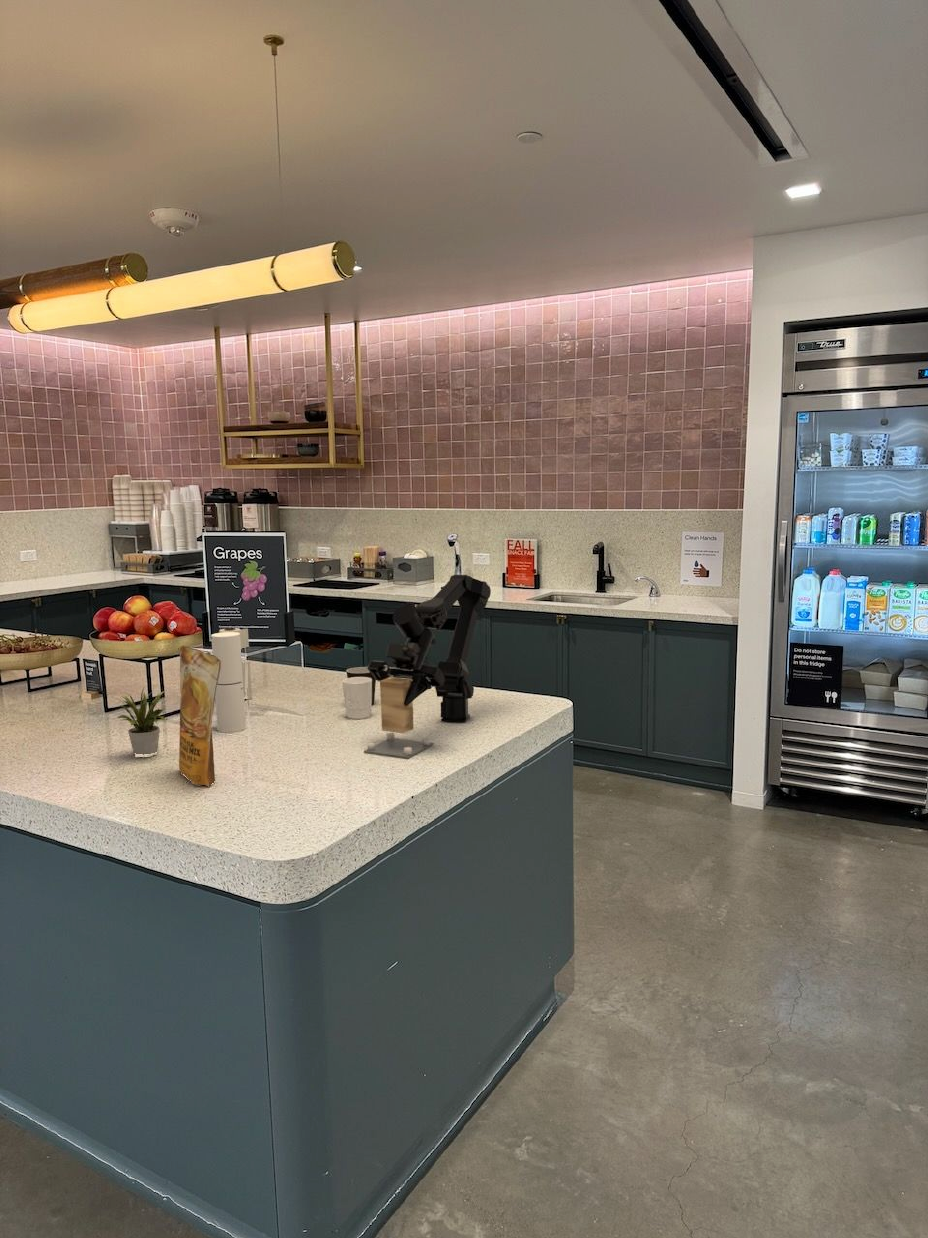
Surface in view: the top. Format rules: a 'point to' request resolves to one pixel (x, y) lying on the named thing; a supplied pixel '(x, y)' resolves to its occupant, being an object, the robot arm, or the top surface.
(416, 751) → the peg plate
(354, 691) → the white cup
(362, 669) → the coffee mug
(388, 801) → the top surface
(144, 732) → the house plant
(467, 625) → the robot arm
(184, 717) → the pancake mix bag
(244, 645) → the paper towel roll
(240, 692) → the cylindrical container
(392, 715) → the wooden block
